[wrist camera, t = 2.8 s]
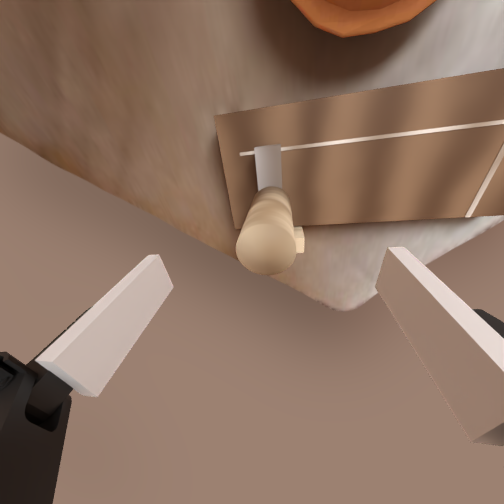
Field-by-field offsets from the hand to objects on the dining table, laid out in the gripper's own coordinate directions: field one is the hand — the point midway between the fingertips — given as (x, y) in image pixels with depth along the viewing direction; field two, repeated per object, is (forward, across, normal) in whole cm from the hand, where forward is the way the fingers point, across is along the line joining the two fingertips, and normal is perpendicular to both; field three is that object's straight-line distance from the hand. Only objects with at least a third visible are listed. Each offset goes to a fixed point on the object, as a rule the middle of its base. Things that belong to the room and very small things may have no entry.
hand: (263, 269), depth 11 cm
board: (+15, +10, +3) cm, 19 cm away
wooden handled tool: (+15, 0, 0) cm, 15 cm away
